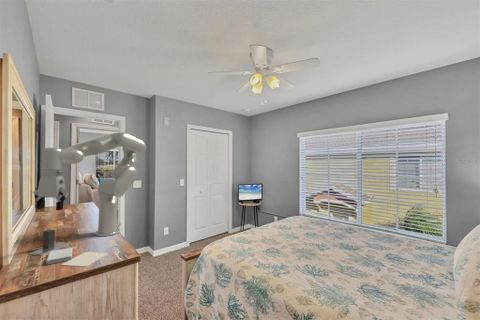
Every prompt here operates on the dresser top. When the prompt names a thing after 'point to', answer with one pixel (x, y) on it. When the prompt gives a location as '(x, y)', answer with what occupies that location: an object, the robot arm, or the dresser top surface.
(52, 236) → the scraper
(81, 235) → the dresser top surface
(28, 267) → the dresser top surface
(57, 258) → the hard drive
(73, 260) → the board
